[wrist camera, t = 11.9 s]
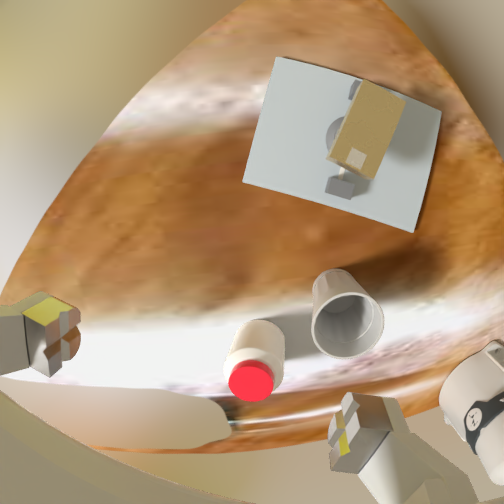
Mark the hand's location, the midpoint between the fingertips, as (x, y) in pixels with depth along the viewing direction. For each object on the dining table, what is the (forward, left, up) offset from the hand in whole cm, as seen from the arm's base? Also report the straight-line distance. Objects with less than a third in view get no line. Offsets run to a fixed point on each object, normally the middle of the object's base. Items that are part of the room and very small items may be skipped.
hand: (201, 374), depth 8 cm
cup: (-11, +7, -35) cm, 38 cm away
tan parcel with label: (-7, -13, -28) cm, 31 cm away
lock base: (-7, -13, -35) cm, 38 cm away
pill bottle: (-3, +18, -35) cm, 40 cm away
